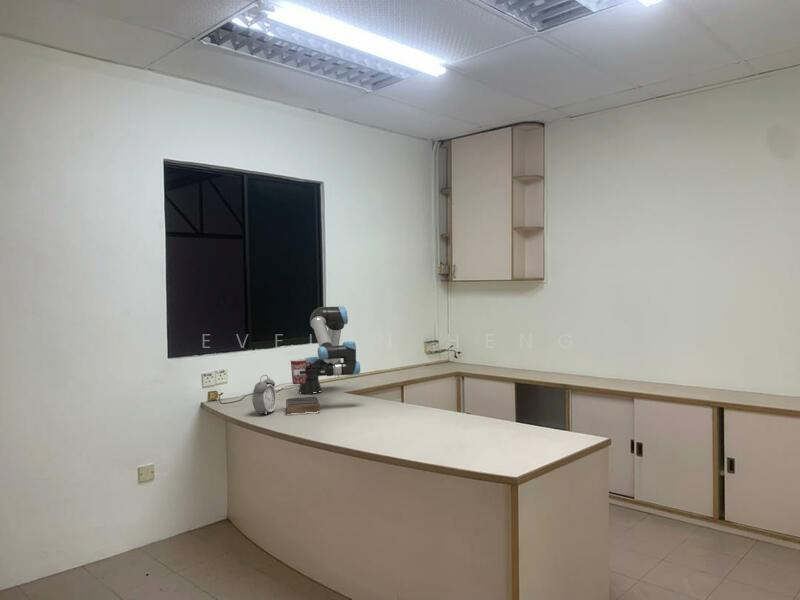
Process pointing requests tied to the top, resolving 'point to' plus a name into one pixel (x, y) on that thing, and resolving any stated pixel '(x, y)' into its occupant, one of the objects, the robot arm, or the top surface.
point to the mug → (299, 365)
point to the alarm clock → (264, 396)
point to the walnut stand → (302, 405)
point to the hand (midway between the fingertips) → (293, 371)
